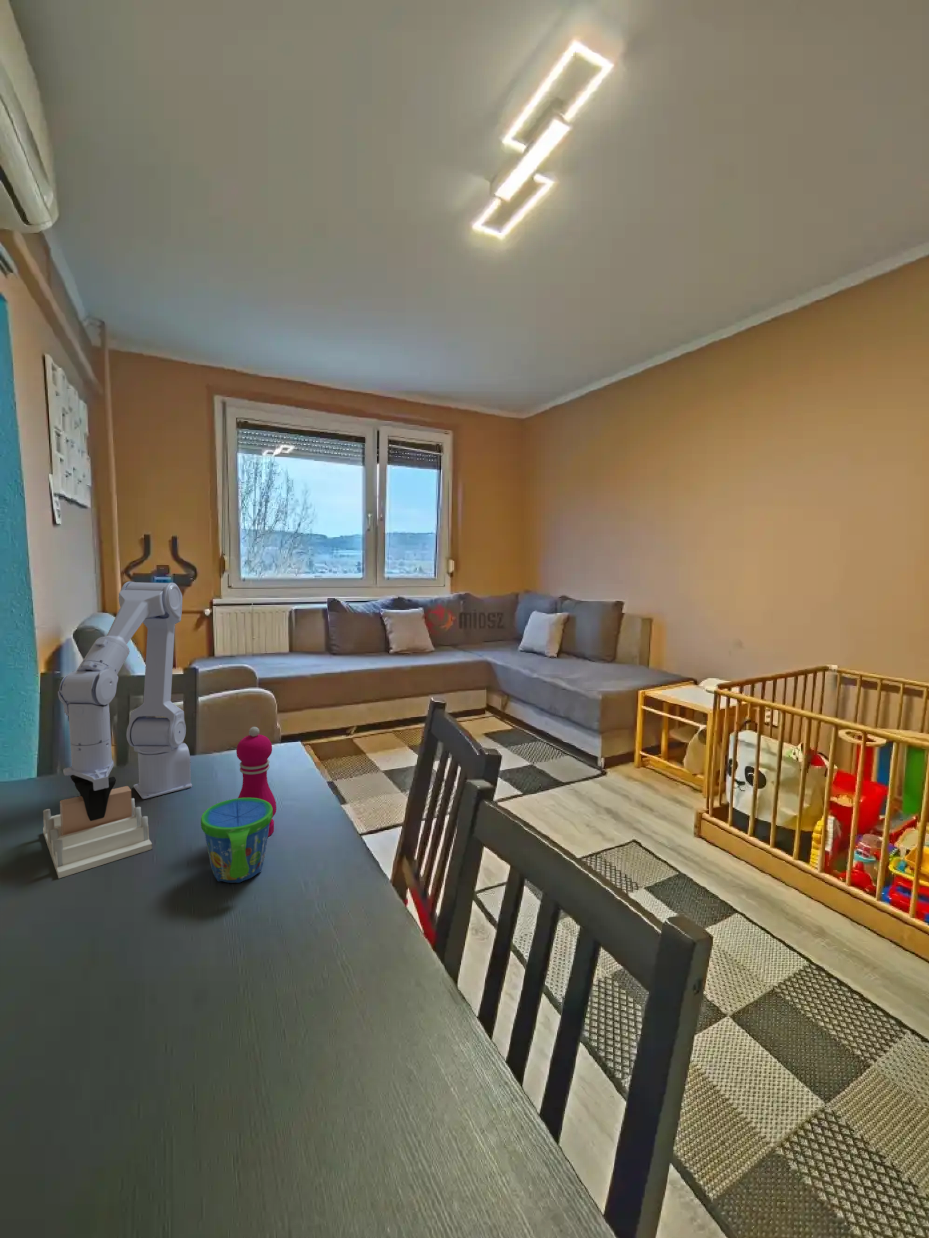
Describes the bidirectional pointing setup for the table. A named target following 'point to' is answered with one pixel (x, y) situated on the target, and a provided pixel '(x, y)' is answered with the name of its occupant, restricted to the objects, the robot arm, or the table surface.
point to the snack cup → (237, 837)
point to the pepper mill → (256, 768)
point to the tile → (76, 814)
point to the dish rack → (95, 842)
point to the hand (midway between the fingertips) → (95, 815)
